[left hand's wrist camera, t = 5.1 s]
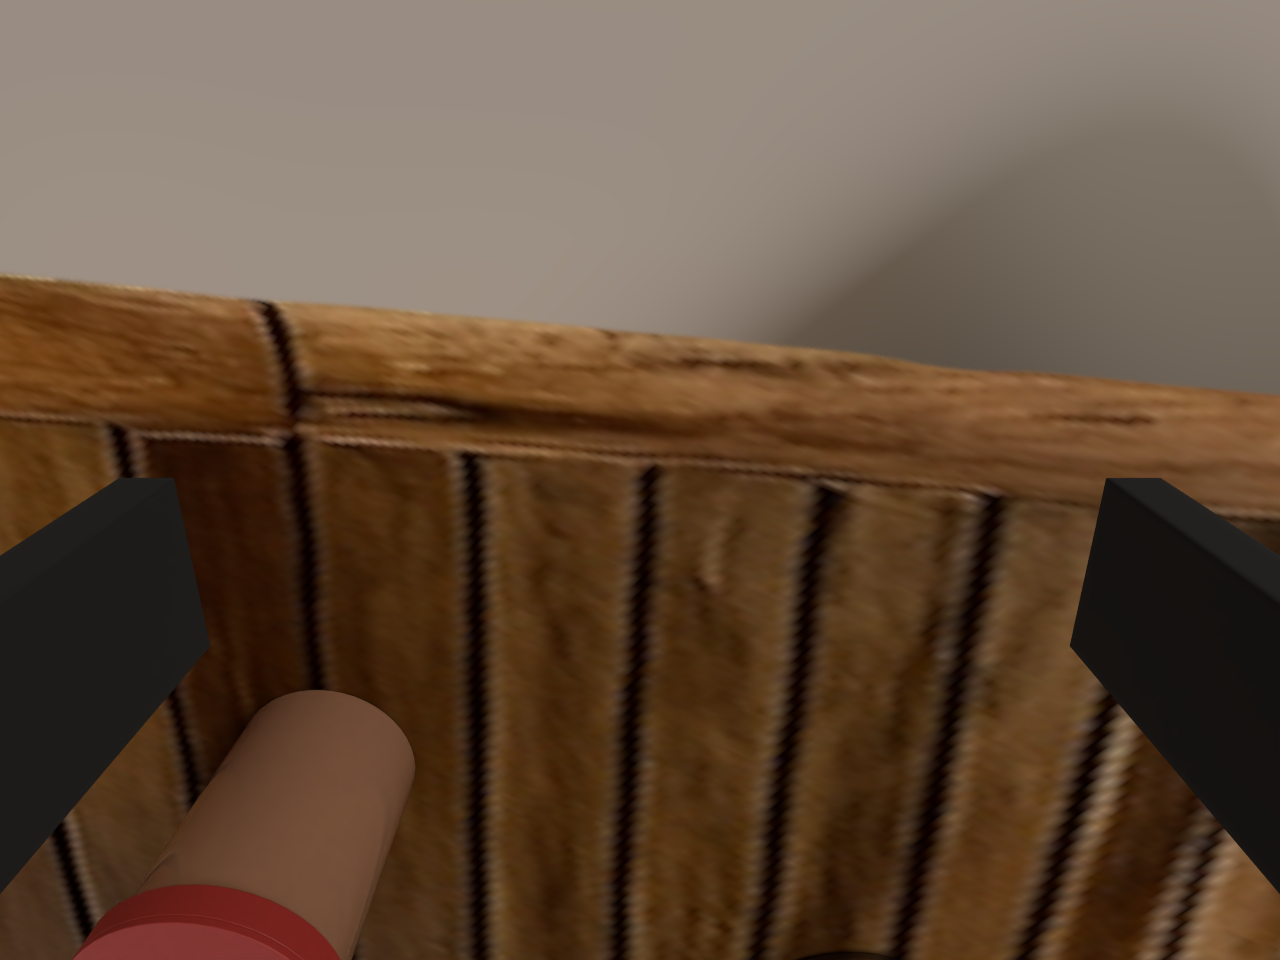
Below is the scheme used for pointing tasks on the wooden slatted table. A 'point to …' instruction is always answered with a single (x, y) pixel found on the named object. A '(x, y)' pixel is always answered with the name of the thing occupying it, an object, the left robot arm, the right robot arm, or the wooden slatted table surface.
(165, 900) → the lid
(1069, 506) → the wooden slatted table surface
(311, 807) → the jar
